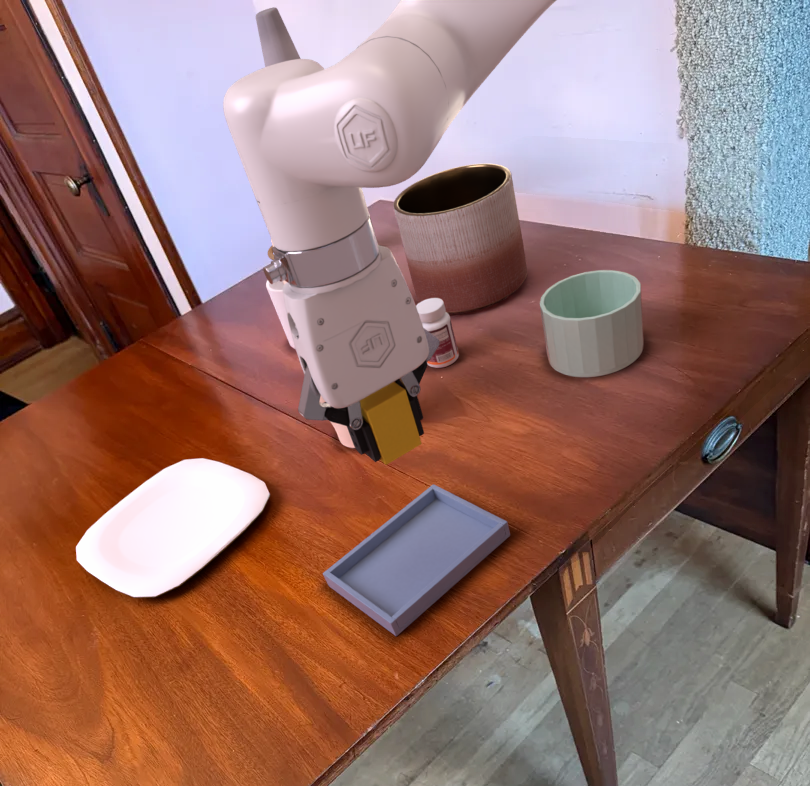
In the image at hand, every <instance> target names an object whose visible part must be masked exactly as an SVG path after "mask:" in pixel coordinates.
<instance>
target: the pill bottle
mask: <svg viewBox="0 0 810 786" xmlns="http://www.w3.org/2000/svg"><path fill="white" fill-rule="evenodd" d="M415 305H416V308H417V311H418V313H419V316H420V319H421V322H422V325H423V328H424V329H426V330H427V331H428V332H430V333H431V334H432V335H434V336H435V337H436V338H437V339H438V340H439V341H440V345H439V347H438V348H437V350H436V351H435V353H434V355H433V356H432V358H431V359H430V361H429V360H428V362H427V366H429V367H431V368H435V369H436V368H437V369H443V368H445V367H449V366H450V365H453V364H454V363H455V362H456V361H457V360H458V359H459V356H460V352H459V347H458V345H457V341H456V336H455V331H454V328H453V323H452V319H451V316H450V314H448V313H447V312H446V310H445V306H444V302H443V300H442V299H439V298H430V299H426V300H424V301H422V302H420V303H419V302H418V303H417V304H415Z"/></svg>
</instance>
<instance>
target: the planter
mask: <svg viewBox="0 0 810 786" xmlns="http://www.w3.org/2000/svg"><path fill="white" fill-rule="evenodd" d="M514 186H515V185H514V180H513V174H512V172H511V170H510V169H509V168H508V167H506V166H504V165H501V164H497V163H472V164H467V165H460V166H456V167H452V168H449V169H445V170H441V171H439V172H435V173H433V174H431V175H428V176H426V177H424V178H421V179H419V180H417V181H415V182H414V183H412V184H410V185H409V186H407V187H406V188H404V189H403V190H402V191H401V192H399V194H398V195H397V196H396V198H395V199H394V201H393V204H392V205H393V212H394V216H395V219H396V224H397V227H398V230H399V234H400V239H401V243H402V246H403V250H404V254H405V258H406V262H407V267H408V270H409V274H410V279H411V283H412V287H413V290H414V294H415V297H416V300H417V302H418V303H420V302H422V301H424V300H426V299H430V298H439V299H442V300H443V302H444V306H445V310H446V312H447V313H448V314H449V315H454V314H455V315H456V314H463V313H464V314H466V313H472V312H476V311H480V310H483V309H486V308H489V307H491V306H493V305H496V304H498V303H500V302H502V301H504V300H506V299H507V298H509V297H510V296H511V295H513V294H514V293H516V292H517V290H518V289H519V288H520V287H521V286H522V285H523V283H524V282H525V281H526V278H527V275H528V267H527V266H528V265H527V258H526V251H525V244H524V239H523V234H522V227H521V222H520V217H519V211H518V205H517V199H516V194H515V188H514Z"/></svg>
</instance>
